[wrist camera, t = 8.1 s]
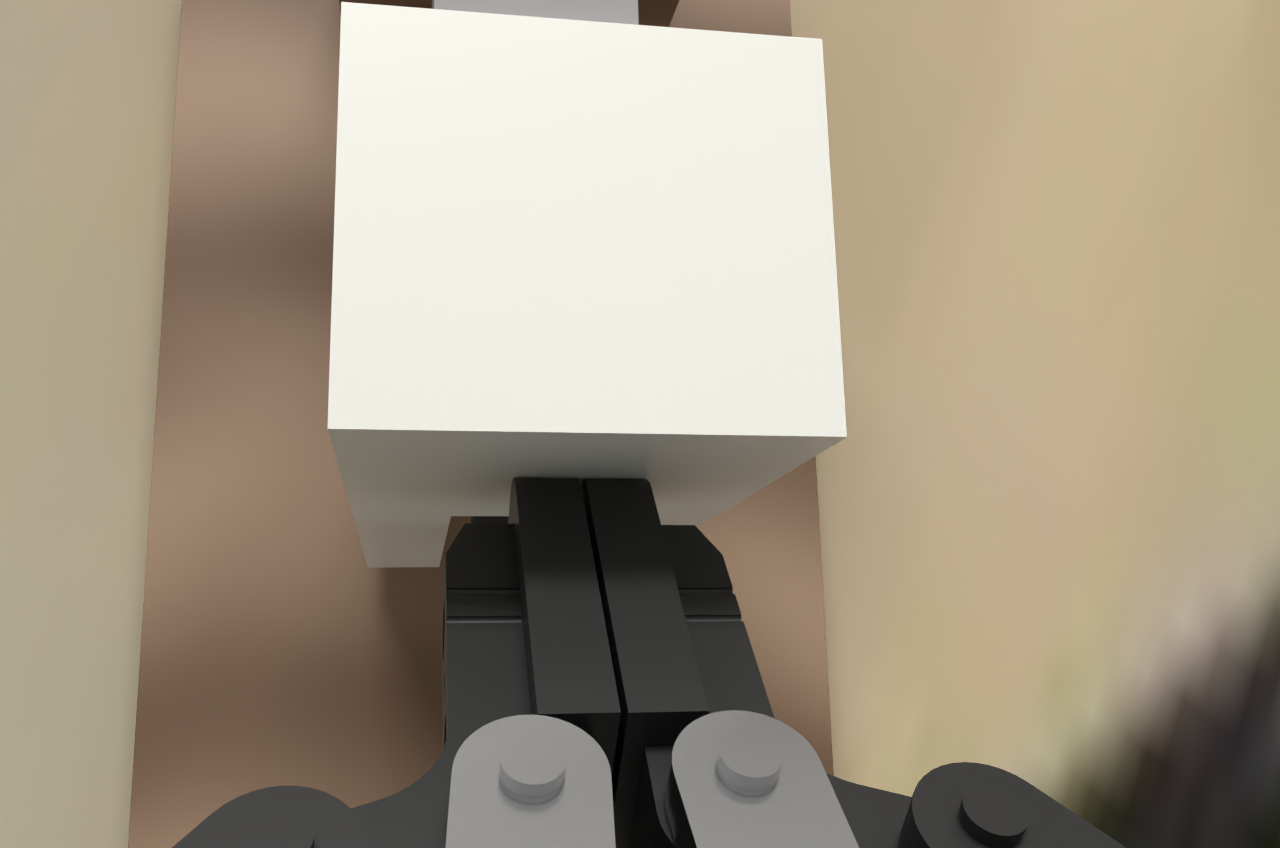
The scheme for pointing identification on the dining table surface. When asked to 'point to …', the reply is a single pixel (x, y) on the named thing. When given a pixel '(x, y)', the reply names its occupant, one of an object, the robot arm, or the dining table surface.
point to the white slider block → (574, 266)
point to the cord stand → (306, 463)
